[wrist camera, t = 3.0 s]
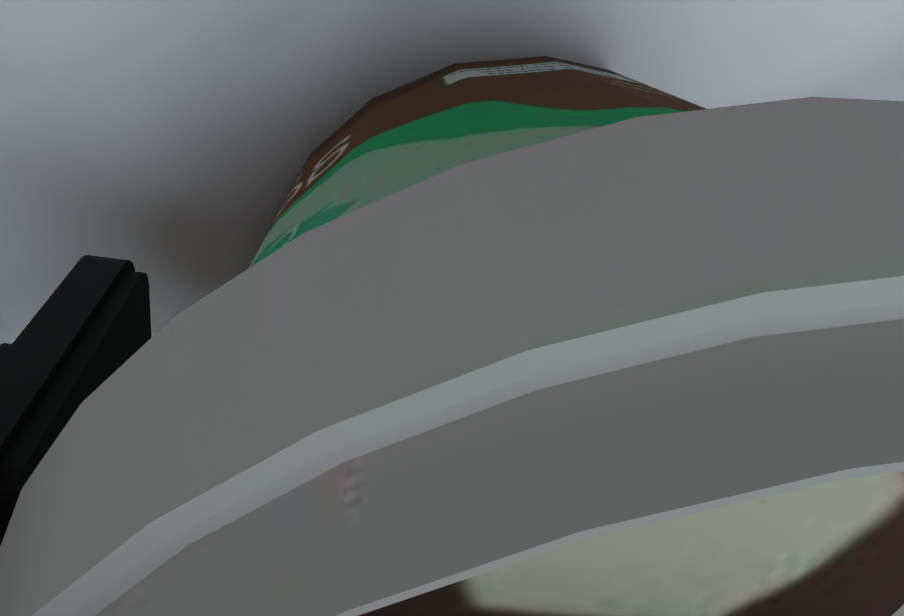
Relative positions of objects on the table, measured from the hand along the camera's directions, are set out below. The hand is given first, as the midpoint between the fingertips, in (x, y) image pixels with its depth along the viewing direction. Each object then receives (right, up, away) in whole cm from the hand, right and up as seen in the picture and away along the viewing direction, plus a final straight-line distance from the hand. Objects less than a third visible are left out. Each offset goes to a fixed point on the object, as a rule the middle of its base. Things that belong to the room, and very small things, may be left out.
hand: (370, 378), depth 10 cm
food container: (0, +2, +3) cm, 4 cm away
